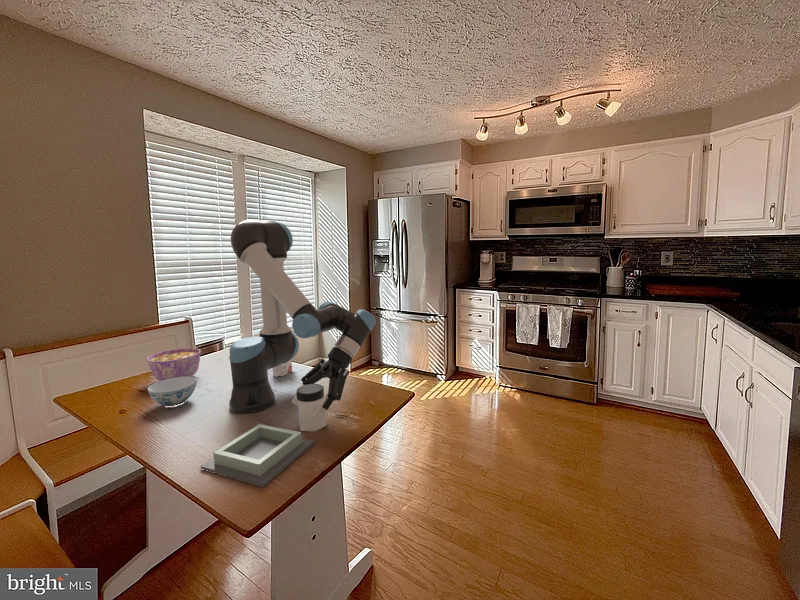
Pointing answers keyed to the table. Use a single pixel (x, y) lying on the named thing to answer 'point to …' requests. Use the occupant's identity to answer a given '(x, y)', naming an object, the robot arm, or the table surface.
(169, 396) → the chinaware
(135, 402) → the table surface
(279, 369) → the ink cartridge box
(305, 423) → the jar
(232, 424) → the table surface
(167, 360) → the bowl of food
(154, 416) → the table surface
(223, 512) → the table surface
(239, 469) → the green and grey tray
